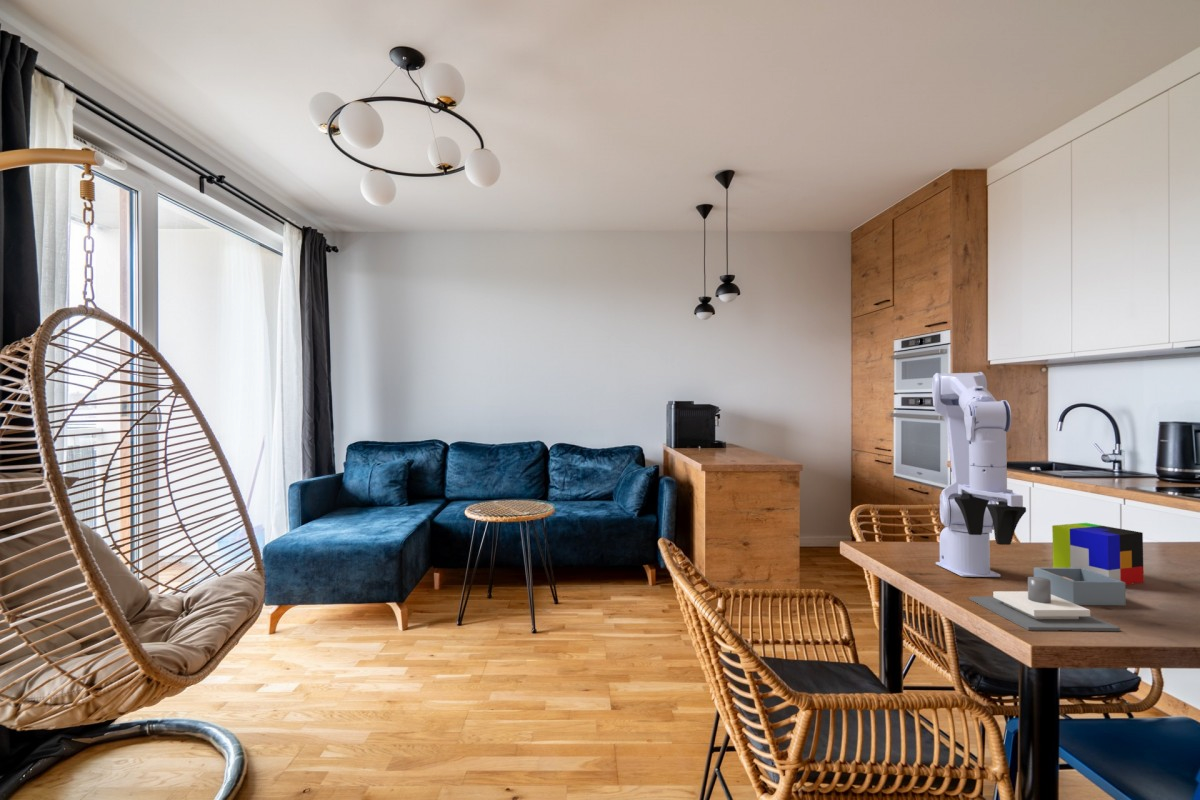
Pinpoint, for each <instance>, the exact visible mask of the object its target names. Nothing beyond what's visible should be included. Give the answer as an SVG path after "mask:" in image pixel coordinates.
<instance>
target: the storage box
mask: <svg viewBox="0 0 1200 800" xmlns="http://www.w3.org/2000/svg"><path fill="white" fill-rule="evenodd" d="M1033 577H1040V578H1045V579H1048V580H1050V581H1051V594H1052V595H1054V596H1057V597H1059V598H1062V599H1064V600H1067V601H1069V602H1072V603H1074V604H1076V605H1079V606H1127V604H1126V601H1127V600H1126V599H1127V597H1126V585H1125V582H1122V581H1119V580H1116V579H1113V578H1110V577H1107V576H1104V575H1101V574H1098V573H1095V572H1092V571H1089V570H1086V569H1083V568H1053V567H1033Z"/></svg>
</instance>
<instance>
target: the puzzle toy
mask: <svg viewBox="0 0 1200 800" xmlns="http://www.w3.org/2000/svg"><path fill="white" fill-rule="evenodd" d="M1051 529H1052V531H1051V532H1052V568H1083V569H1086V570H1089V571H1092V572H1095V573H1098V574H1101V575H1104V576H1107V577H1110V578H1113V579H1116V580H1119V581H1122V582H1125V586H1127V585H1126V584H1129V585H1133V584H1132V583H1137V584H1142V583H1141V582H1144V581H1145V580H1144V579H1145V577H1144V572H1145V571H1144V536H1143V535H1144V532H1142V531H1135V530H1129V529H1123V528H1117V527H1113V526H1105V525H1101V524H1096V523H1095V524H1094V523H1088V522H1080V523H1079V522H1078V523H1067V524H1054V525H1052V526H1051ZM1144 583H1145V582H1144Z"/></svg>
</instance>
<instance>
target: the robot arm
mask: <svg viewBox="0 0 1200 800" xmlns="http://www.w3.org/2000/svg"><path fill="white" fill-rule="evenodd" d="M931 393H932V394H931V396H932V405H933V408H934V412H935V413H937V414H939V415H941V416H943V420H944V423H945V425H946V426H945V427H946V432H947V441H948V449H949V451H948V452H949V459H950V468H951V475H952V483H951V484H949V485H948V486H946V487H945V488H944V489H942V491H941V493H940V495H939V517H940V522H941V524H942V525H943V526H944V528H943V529H942V530H941V531H940V533H939V561H935V565H937V566H939V567H941V568H943V569H945V570H948V571H949V572H952V573H953V574H957V575H958V576H960V577H966V578H967V577H969V578H970V577H971V578H974V577H975V578H981V577H982V578H1001V574H1000V573H998V572H995V571H993V570H991V554H990V553H991V550H990V547H991V545H990V542H991V541H990V534H992V533H993V532H994V533H993V534H994V539H995V543H996V544H997V545H1001V546H1010V545H1011V544H1012V541H1013V538H1014V534H1015V531H1016V528H1017V526H1018V524H1019V522H1020V520H1021V518H1022V517H1023V515H1024V514H1025V513H1026V512H1027V508H1026V506H1024V497H1023V495H1022V494H1017V493H1015V492H1014V490H1013V489H1009V488H1008V468H1007V466H1008V465H1007V463H1008V461H1007V460H1008V457H1007V456H1008V455H1007V453H1008V452H1007V451H1008V450H1007V449H1008V448H1007V433H1008V432H1009V431H1010V430H1011V429H1010V428H1011V426H1012V425H1011V423H1012V411H1011V406H1010V404H1009V401H1008V400H1004V399H1003V400H1002V399H1001V400H1000V401H997V399H996V398H995V397H994V395H992V393H991V392H990V390H988V380H987V377H986V375H985V373H984V372H982V371H978V372H958V373H957V372H953V373H952V372H951V373H949V372H948V373H947V372H946V373H940V372H935V374H933V376H932V379H931Z"/></svg>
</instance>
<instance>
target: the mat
mask: <svg viewBox="0 0 1200 800" xmlns="http://www.w3.org/2000/svg"><path fill="white" fill-rule="evenodd" d="M968 598H969V600H970V601H972V602H973V601H974V603H975V602H976V604H977V603H978V604H977V605H979V606H981V607H983V608H985V609H987V610H988V611H991V612H993V613H994V614H997V615H998V616H1000V617H1002V618H1003V619H1006V620H1008V621H1010V622H1011V623H1014V624H1016V625H1017V626H1019V627H1020V628H1021V627H1022V628H1023V629H1025V630H1027V631H1045V632H1046V631H1053V632H1054V631H1055V632H1056V631H1058V630H1072V631H1071V632H1073V631H1075V632H1121V628H1120V627H1118V626H1116V625H1115V624H1112V623H1110V622H1108V621H1105V620H1103V619H1100V618H1098V617H1095V616H1093V615H1091V614H1090V616H1079V619H1034V618H1032V617H1030V616H1028V615H1026V614H1024V613H1022V612H1020V611H1018V610H1015V609H1013V608H1011V607H1009V606H1007V605H1005V604H1003V601H1000V600H998V599H996V598H994V597H993V596H969V597H968Z"/></svg>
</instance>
